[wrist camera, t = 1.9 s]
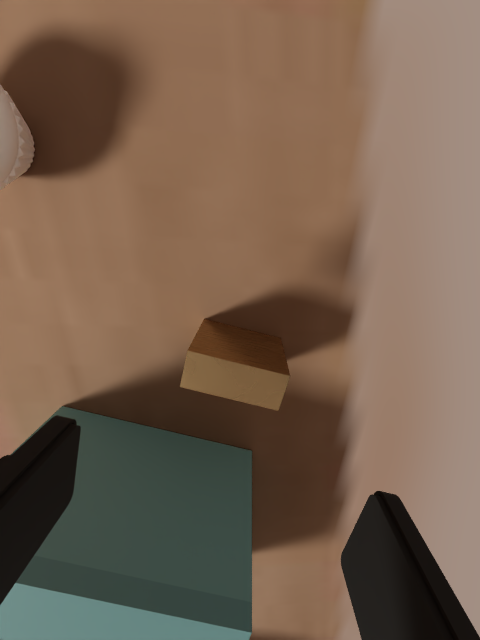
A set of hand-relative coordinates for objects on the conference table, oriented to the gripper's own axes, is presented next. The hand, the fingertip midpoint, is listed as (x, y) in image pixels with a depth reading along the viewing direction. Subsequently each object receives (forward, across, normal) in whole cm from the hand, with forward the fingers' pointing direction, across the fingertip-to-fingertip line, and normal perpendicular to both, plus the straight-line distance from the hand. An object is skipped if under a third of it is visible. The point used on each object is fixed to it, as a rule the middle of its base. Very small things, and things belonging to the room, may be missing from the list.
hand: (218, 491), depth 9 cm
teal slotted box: (+11, +4, +13) cm, 17 cm away
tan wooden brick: (+10, 0, -1) cm, 10 cm away
